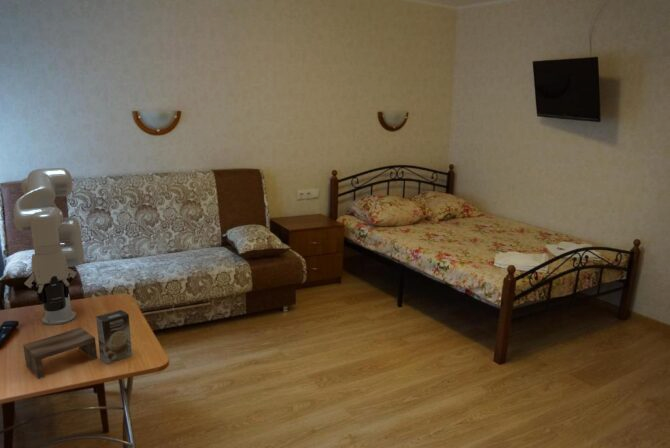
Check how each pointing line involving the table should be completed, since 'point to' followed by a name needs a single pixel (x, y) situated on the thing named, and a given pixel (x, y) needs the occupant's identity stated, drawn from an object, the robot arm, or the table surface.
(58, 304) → the supplement bottle
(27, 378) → the table surface
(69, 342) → the walnut shelf
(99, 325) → the coffee box
